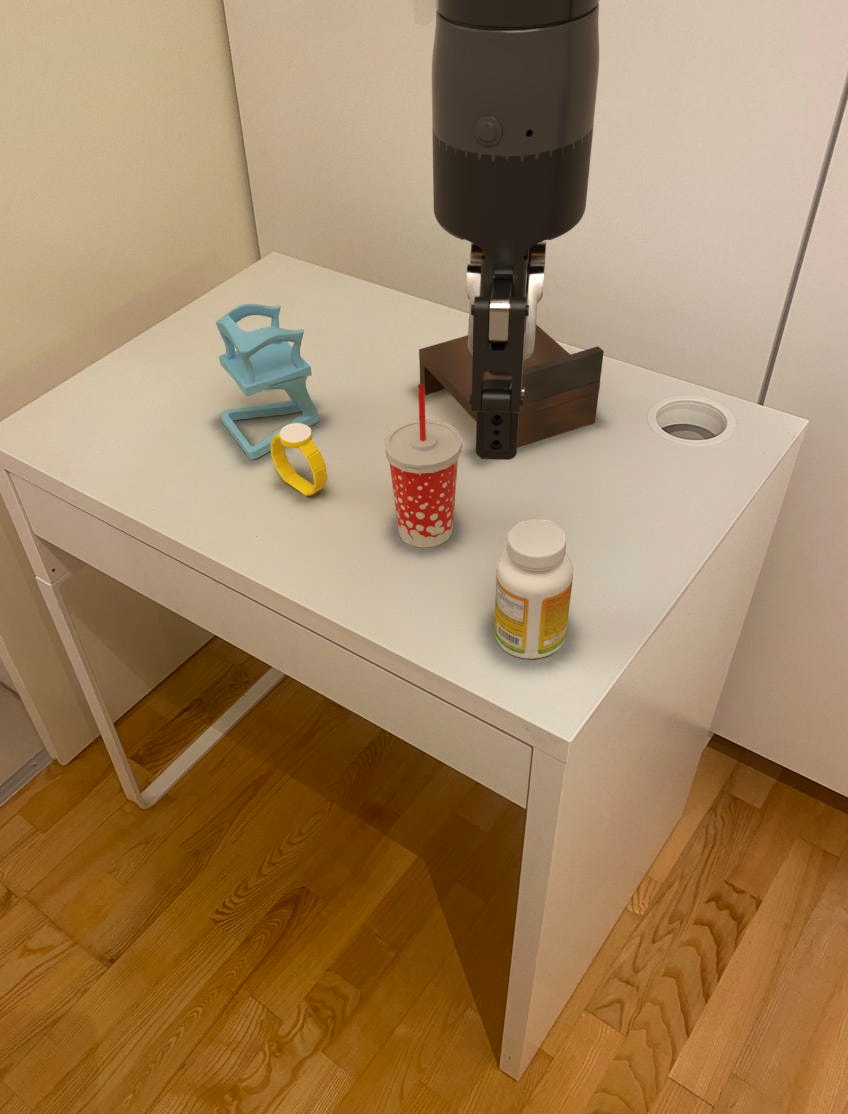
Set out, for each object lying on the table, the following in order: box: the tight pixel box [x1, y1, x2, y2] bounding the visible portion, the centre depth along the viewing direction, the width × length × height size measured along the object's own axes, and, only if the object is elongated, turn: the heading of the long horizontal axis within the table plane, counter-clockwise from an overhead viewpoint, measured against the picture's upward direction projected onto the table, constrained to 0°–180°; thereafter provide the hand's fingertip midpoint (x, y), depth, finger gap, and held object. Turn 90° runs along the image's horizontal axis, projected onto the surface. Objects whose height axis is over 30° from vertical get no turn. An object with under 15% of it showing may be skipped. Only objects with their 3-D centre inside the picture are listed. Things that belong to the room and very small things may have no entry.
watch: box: [270, 423, 328, 497], centre depth 86 cm, size 6×3×6 cm, turn 45°
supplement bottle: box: [493, 518, 574, 660], centre depth 71 cm, size 5×5×10 cm
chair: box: [215, 303, 320, 460], centre depth 91 cm, size 8×8×12 cm
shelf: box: [418, 324, 604, 460], centre depth 93 cm, size 12×13×8 cm
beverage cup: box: [383, 383, 463, 549], centre depth 78 cm, size 6×6×14 cm
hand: (501, 411), depth 58 cm, fingers open, 8 cm apart
